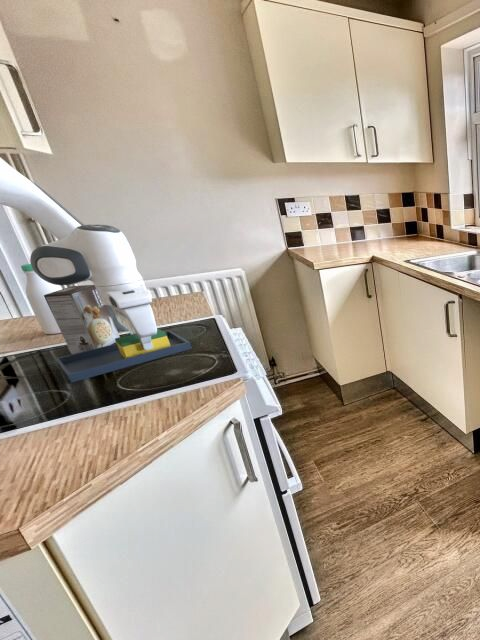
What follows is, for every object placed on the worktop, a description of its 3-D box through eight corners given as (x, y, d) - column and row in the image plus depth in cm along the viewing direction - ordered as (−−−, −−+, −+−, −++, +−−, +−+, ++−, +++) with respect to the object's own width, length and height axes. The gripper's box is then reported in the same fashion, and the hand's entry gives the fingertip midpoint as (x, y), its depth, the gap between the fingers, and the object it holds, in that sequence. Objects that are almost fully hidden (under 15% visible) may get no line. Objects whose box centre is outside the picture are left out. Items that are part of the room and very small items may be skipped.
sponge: (127, 360, 103) (120, 343, 102) (121, 354, 107) (114, 338, 105) (171, 348, 110) (165, 332, 108) (164, 343, 113) (158, 328, 111)
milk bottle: (47, 336, 121) (15, 268, 114) (40, 331, 125) (9, 265, 118) (83, 328, 127) (54, 262, 120) (75, 324, 131) (47, 260, 124)
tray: (71, 382, 94) (67, 374, 93) (58, 366, 102) (54, 358, 102) (191, 348, 111) (189, 341, 110) (172, 336, 119) (169, 330, 119)
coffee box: (96, 341, 117) (72, 285, 111) (121, 339, 118) (99, 283, 112) (69, 354, 109) (42, 294, 103) (97, 352, 110) (72, 293, 104)
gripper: (96, 290, 106) (117, 341, 111) (117, 303, 94) (140, 359, 100) (128, 284, 110) (147, 333, 116) (152, 296, 99) (172, 350, 104)
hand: (144, 345), depth 108 cm, fingers closed on sponge, 6 cm apart
